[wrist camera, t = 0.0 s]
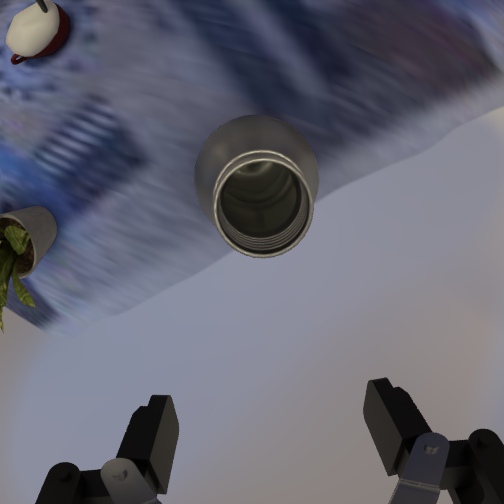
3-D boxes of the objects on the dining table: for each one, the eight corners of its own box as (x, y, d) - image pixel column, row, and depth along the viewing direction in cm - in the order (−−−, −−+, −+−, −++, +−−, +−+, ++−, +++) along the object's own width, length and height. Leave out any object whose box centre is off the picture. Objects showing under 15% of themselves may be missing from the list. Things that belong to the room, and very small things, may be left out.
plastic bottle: (216, 188, 31) (180, 296, 12) (214, 118, 28) (165, 116, 10) (283, 187, 31) (343, 292, 13) (284, 117, 28) (358, 116, 10)
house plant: (46, 129, 27) (-66, 154, 12) (118, 228, 32) (39, 314, 17) (-14, 208, 30) (-103, 261, 15) (47, 291, 35) (-22, 375, 20)
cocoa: (30, 74, 25) (-46, 77, 14) (23, 29, 22) (-49, 21, 11) (100, 34, 24) (30, 13, 13) (90, -12, 21) (26, -44, 10)
